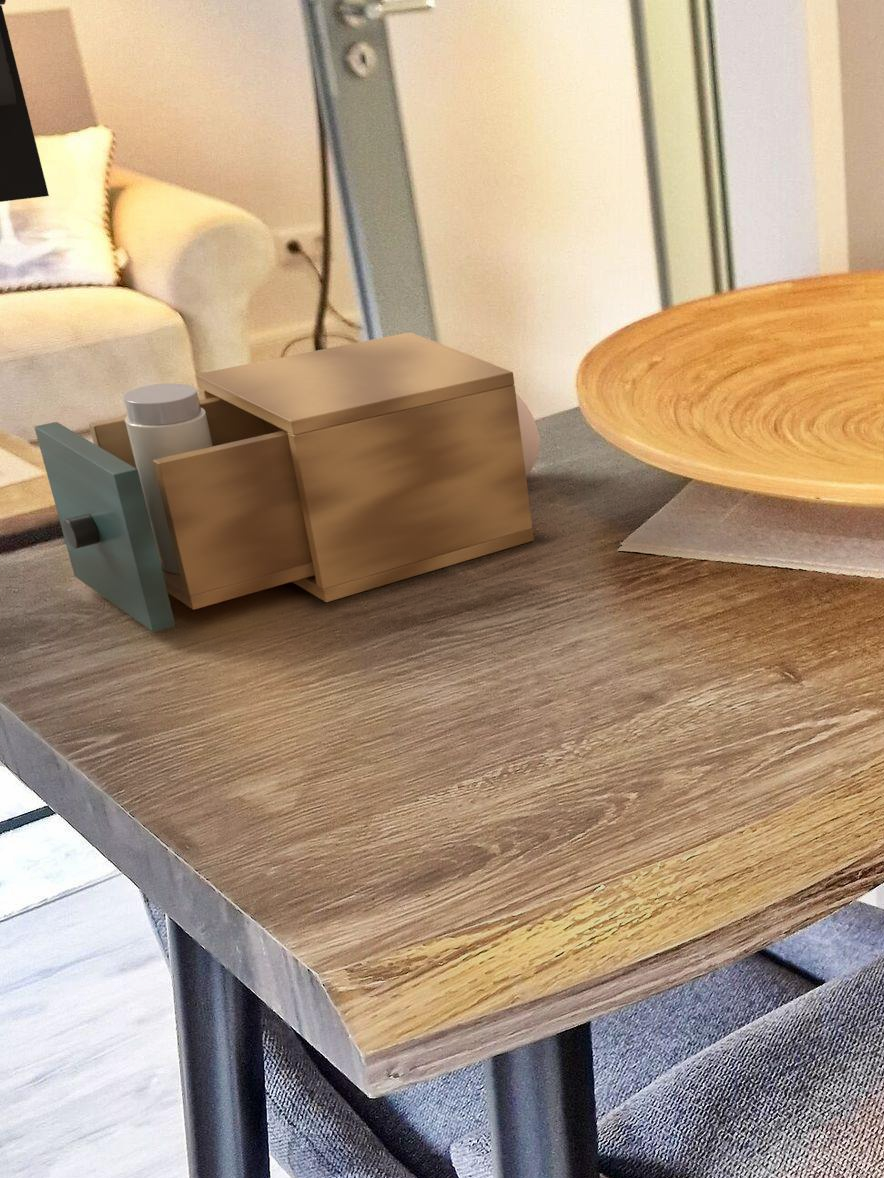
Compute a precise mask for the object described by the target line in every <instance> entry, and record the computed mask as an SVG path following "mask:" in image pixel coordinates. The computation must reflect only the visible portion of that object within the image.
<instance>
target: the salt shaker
mask: <svg viewBox="0 0 884 1178" xmlns="http://www.w3.org/2000/svg"><path fill="white" fill-rule="evenodd" d="M122 398H123V403H124V406H125V410H126V415H127V416H126V415H125V416H126V417H125V424H126V428H127V432H128V437H129V441H130V445H131V449H132V453H133V457H134V461H135V465H136V469H137V470H138V473H139V477H140V481H141V485H142V490H143V494H144V498H145V502H146V506H147V510H148V514H149V518H150V523H151V527H152V531H153V535H154V539H155V543H156V547H157V551H158V556H159V560H160V564H161V568H162V569H163V570H164V571H166V572H169V573H173V574H179V570H178V566H177V561H176V557H175V553H174V549H173V544H172V540H171V536H170V532H169V528H168V523H167V519H166V515H165V511H164V506H163V502H162V498H161V494H160V490H159V485H158V481H157V477H156V473H155V469H154V464H153V460H155V459H160V458H164V457H168V456H173V455H177V454H182V453H186V452H191V451H195V450H199V449H204V448H208V447H213V443H212V438H211V434H210V429H209V425H208V420H207V415H206V411H205V410H204V409H203V408H201V407H200V402H199V400H200V398H199V393H198V390H197V388H196V387H194V386H193V385H190V384H186V383H174V382H173V383H171V382H169V383H168V382H167V383H156V384H149V385H144V386H139V387H136V388H133V389H130V390H129V391H127V392H126V393H124V395H123V397H122Z"/></svg>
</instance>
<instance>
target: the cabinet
mask: <svg viewBox="0 0 884 1178" xmlns="http://www.w3.org/2000/svg"><path fill="white" fill-rule="evenodd" d="M195 380H196V384H197V387H198V392H199V393H198V394H199V396H200V398H199V399H200V400H203V399H208V398H213V397H219V398H221V399H223V400H225V401H227V402H229V403H231V404H233V405H235V406H237V407H239V408H241V409H243V410H245V411H247V412H249V413H251V414H253V415H255V416H257V417H259V418H261V419H263V420H265V421H267V422H269V423H271V424H273V425H275V426H277V427H279V428H281V429H283V430H285V431H287V432H288V438H289V444H290V449H291V454H292V459H293V464H294V469H295V474H296V479H297V485H298V490H299V495H300V500H301V505H302V510H303V515H304V521H305V526H306V531H307V536H308V541H309V546H310V551H311V557H312V562H313V567H314V572H315V575H313V576H310V577H306V578H303V579H299V580H296V581H292V582H291V583H293V584H295V585H297V586H298V587H300V588H301V589H303V590H305V591H306V592H308V593H310V594H312V595H313V596H315V597H316V598H318V599H319V600H321V601H323V602H324V603H329V602H332V601H336V600H339V599H342V598H345V597H349V596H353V595H356V594H359V593H362V592H365V591H370V590H373V589H376V588H380V587H382V586H386V585H390V584H393V583H396V582H399V581H402V580H403V581H404V580H406V579H410V578H412V577H416V576H420V575H423V574H427V573H430V572H433V571H436V570H440V569H443V568H447V567H450V566H454V565H457V564H459V563H464V562H467V561H470V560H473V559H477V558H480V557H483V556H487V555H490V554H493V553H497V552H500V551H504V550H507V549H510V548H513V547H517V546H520V545H524V544H527V543H530V542H534V541H535V536H534V530H533V522H532V513H531V505H530V497H529V490H528V488H529V487H528V482H527V480H528V479H527V476H526V472H525V464H524V456H523V448H522V440H521V432H520V424H519V416H518V408H517V400H516V394H517V393H516V386H515V378H514V372H513V371H511V370H509V369H506V368H504V367H501V366H499V365H495V364H493V363H491V362H489V361H485V360H483V359H480V358H477V357H476V356H473V355H470V354H468V353H465V352H463V351H460V350H457V349H456V348H453V347H450V346H447V345H445V344H442V343H440V342H438V341H435V340H432V339H430V338H427V337H425V336H422V335H419V334H417V333H415V332H411V331H409V332H404V333H399V334H394V335H393V334H392V335H389V336H385V337H383V336H382V337H378V338H373V339H367V340H364V341H363V340H362V341H358V342H354V343H353V342H352V343H348V344H343V345H337V346H333V347H327V348H323V349H317V350H312V351H308V352H302V353H297V354H293V355H287V356H283V357H276V358H271V359H267V360H262V361H257V362H252V363H247V364H241V365H235V366H231V367H226V368H221V369H220V368H219V369H215V370H211V371H206V372H201V373H196V374H195Z"/></svg>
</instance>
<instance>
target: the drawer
mask: <svg viewBox="0 0 884 1178" xmlns="http://www.w3.org/2000/svg"><path fill="white" fill-rule="evenodd" d="M199 402H200V407H201V408H203V409H204V410H205V411H206V415H207V420H208V425H209V429H210V434H211V438H212V443H213V447H208V448H204V449H199V450H195V451H191V452H186V453H182V454H177V455H173V456H168V457H164V458H160V459H155V460H153V464H154V469H155V473H156V477H157V481H158V485H159V490H160V494H161V498H162V502H163V506H164V511H165V515H166V519H167V523H168V528H169V532H170V536H171V540H172V544H173V549H174V553H175V557H176V561H177V566H178V570H179V574H173V573H169V572H166V571H164V570H163V569H162V568H161V564H160V560H159V556H158V551H157V547H156V543H155V539H154V535H153V531H152V527H151V523H150V518H149V514H148V510H147V506H146V502H145V498H144V494H143V490H142V485H141V481H140V477H139V473H138V470H137V469H136V465H135V461H134V457H133V453H132V449H131V445H130V441H129V437H128V432H127V428H126V424H125V417H126V416H127V414H126V415H122V416H117V417H112V418H107V419H101V420H98V421H92V422H90V423H88V427H89V431H90V434H91V439H92V441H90V440H89V439H87V438H85V437H84V436H81V435H80V434H78V433H76V432H75V431H73V430H71V429H70V428H68V427H66V426H65V425H63V424H61V423H59V422H58V421H55V422H50V423H49V422H48V423H44V424H39V425H35V426H34V427H33V428H34V431H35V434H36V438H37V442H38V446H39V449H40V453H41V456H42V461H43V464H44V468H45V472H46V475H47V480H48V483H49V486H50V491H51V494H52V498H53V501H54V505H55V509H56V513H57V516H58V519H59V523H60V527H61V531H62V536H63V539H64V542H65V546H66V549H67V552H68V553H67V554H68V557H69V560H70V564H71V568H72V571H73V575H74V577H75V578H77V579H78V580H79V581H81V582H82V583H83V584H85V585H86V586H88V587H89V588H90V589H92V590H93V591H94V592H96V593H98V594H99V595H100V596H102V597H103V598H105V600H107V601H109V602H110V603H111V604H113V605H114V606H116V607H117V608H118V609H120V610H122V612H124V613H126V614H127V615H128V616H129V617H131V618H132V619H134V620H135V621H137V623H139V624H141V625H142V626H144V627H145V628H147V630H149V631H151V632H152V633H156V632H159V631H163V630H166V629H170V628H174V627H176V623H175V622H176V621H175V618H174V614H173V609H172V606H171V605H172V604H171V601H170V597H169V595H171V596H172V597H174V598H175V599H176V600H178V601H179V602H181V603H183V604H184V605H186V606H187V607H189V608H190V609H192V610H198V609H201V608H205V607H208V606H212V605H215V604H219V603H222V602H226V601H229V600H232V599H236V598H240V597H243V596H246V595H250V594H255V593H257V592H262V591H265V590H268V589H271V588H274V587H278V586H281V585H285V584H288V583H289V584H290V583H293V582H292V581H296V580H299V579H303V578H306V577H310V576H313V575H315V572H314V567H313V562H312V557H311V551H310V546H309V541H308V536H307V531H306V526H305V521H304V515H303V510H302V505H301V500H300V495H299V490H298V485H297V479H296V474H295V469H294V464H293V459H292V454H291V449H290V444H289V438H288V432H287V431H285V430H283V429H281V428H279V427H277V426H275V425H273V424H271V423H269V422H267V421H265V420H263V419H261V418H259V417H257V416H255V415H253V414H251V413H249V412H247V411H245V410H243V409H241V408H239V407H237V406H235V405H233V404H231V403H229V402H227V401H225V400H223V399H221V398H219V397H213V398H208V399H203V400H201V399H199Z"/></svg>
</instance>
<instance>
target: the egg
mask: <svg viewBox="0 0 884 1178" xmlns="http://www.w3.org/2000/svg"><path fill="white" fill-rule="evenodd" d="M516 400H517V408H518V416H519V424H520V432H521V440H522V448H523V456H524V464H525V472H526V477H527V476H528V475H529V474H530V473H531V471H532V470H533V468H534V467H535V465H536V462H537V460H538V455H539V453H540V436H539V431H538V426H537V423H536V421H535V418H534V415H533V413H532V412H531V410H530V409H529V407H528V405H527V404H526V403H525V401H524V400H523V399H522V398H521V396H520V395H519V394H518V393H516Z"/></svg>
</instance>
